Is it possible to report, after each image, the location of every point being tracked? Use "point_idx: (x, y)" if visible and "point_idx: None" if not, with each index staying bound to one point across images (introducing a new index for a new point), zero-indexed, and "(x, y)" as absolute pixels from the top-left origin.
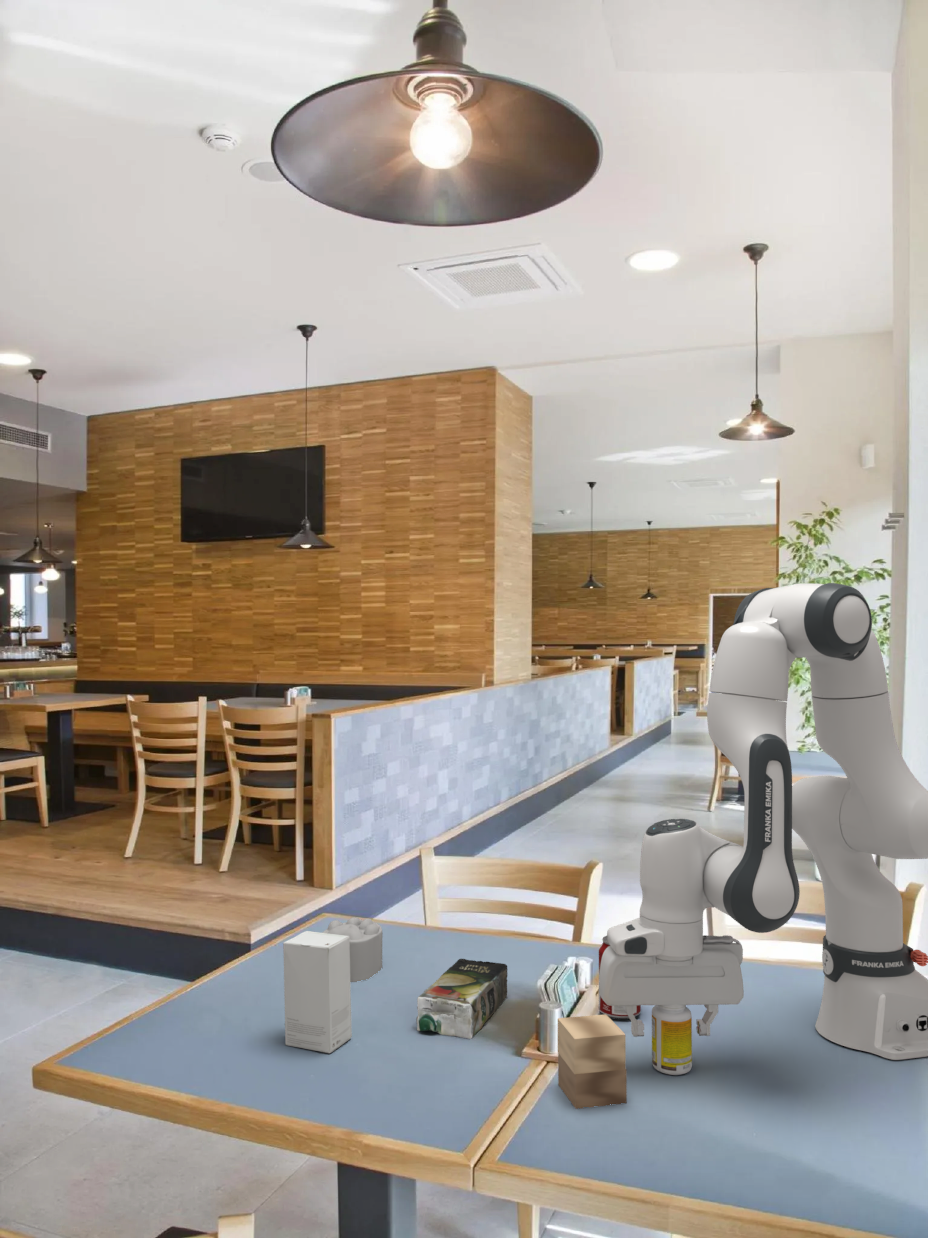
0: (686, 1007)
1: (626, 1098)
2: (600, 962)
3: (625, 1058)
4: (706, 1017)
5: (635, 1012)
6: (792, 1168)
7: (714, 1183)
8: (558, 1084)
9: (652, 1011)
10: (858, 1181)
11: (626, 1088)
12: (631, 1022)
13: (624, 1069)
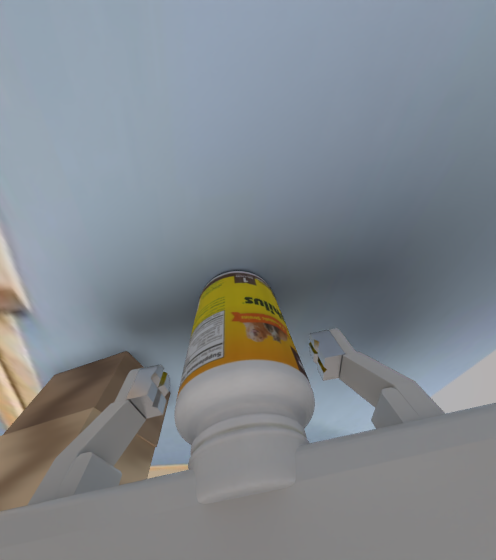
0: (307, 415)
1: (168, 399)
2: None
3: (148, 471)
4: (355, 381)
5: (119, 474)
6: (312, 431)
7: None
8: (54, 376)
9: (178, 431)
10: (351, 432)
11: (164, 414)
12: (119, 398)
13: (153, 447)
